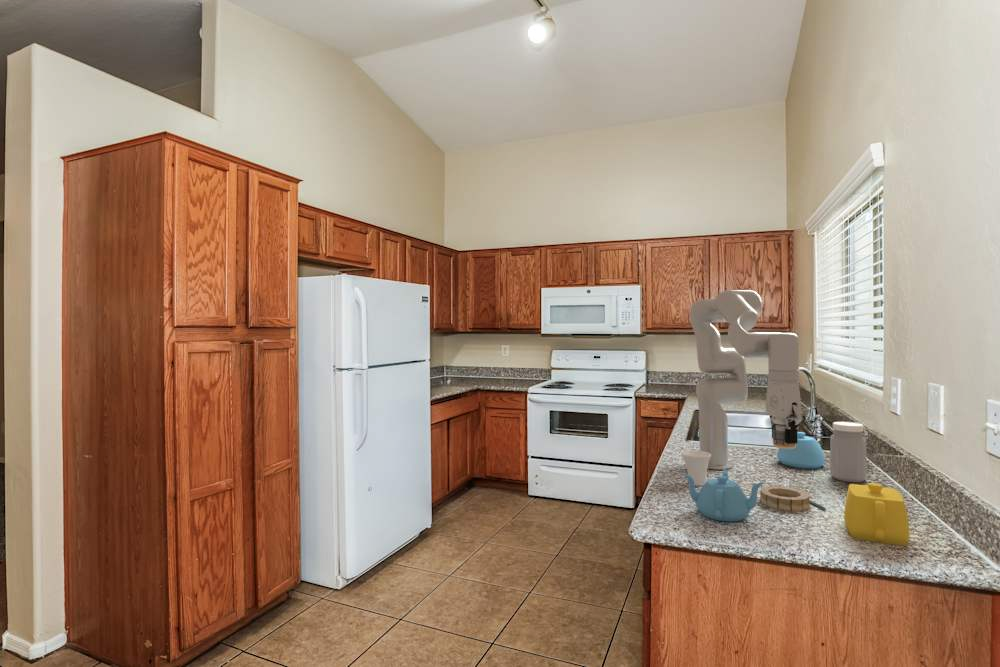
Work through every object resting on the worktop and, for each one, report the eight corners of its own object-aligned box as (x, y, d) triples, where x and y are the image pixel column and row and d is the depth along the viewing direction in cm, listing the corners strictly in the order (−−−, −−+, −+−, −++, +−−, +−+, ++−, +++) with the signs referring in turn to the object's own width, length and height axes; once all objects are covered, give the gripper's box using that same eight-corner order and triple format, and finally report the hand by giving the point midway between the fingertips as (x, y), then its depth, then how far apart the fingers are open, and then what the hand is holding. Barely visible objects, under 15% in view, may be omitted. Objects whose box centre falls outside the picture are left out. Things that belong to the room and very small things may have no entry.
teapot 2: (840, 514, 138) (840, 470, 138) (898, 522, 132) (898, 476, 132) (848, 541, 120) (848, 491, 120) (916, 552, 115) (915, 498, 114)
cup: (696, 478, 173) (695, 448, 172) (717, 485, 164) (717, 454, 164) (675, 481, 169) (674, 450, 169) (696, 489, 160) (696, 457, 160)
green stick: (795, 495, 154) (795, 493, 154) (798, 495, 154) (798, 493, 154) (823, 510, 141) (823, 508, 141) (826, 510, 141) (826, 507, 141)
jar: (842, 473, 176) (841, 420, 176) (873, 480, 168) (872, 424, 168) (823, 477, 172) (823, 422, 172) (854, 484, 163) (854, 427, 163)
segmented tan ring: (752, 496, 153) (752, 486, 153) (792, 496, 153) (792, 485, 153) (775, 511, 141) (775, 500, 141) (818, 510, 141) (818, 499, 141)
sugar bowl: (768, 462, 192) (768, 430, 192) (795, 457, 199) (795, 427, 199) (807, 471, 179) (806, 438, 179) (834, 466, 185) (834, 434, 185)
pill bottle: (775, 444, 151) (775, 410, 151) (798, 447, 147) (797, 411, 147) (771, 447, 146) (770, 412, 146) (794, 450, 143) (793, 414, 143)
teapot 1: (715, 528, 130) (715, 487, 130) (680, 507, 144) (680, 471, 144) (765, 522, 133) (765, 482, 133) (725, 502, 148) (725, 467, 148)
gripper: (754, 374, 155) (755, 435, 155) (788, 379, 138) (789, 447, 138) (779, 374, 155) (780, 434, 155) (816, 379, 138) (816, 447, 138)
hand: (784, 440), depth 147 cm, fingers closed on pill bottle, 5 cm apart
